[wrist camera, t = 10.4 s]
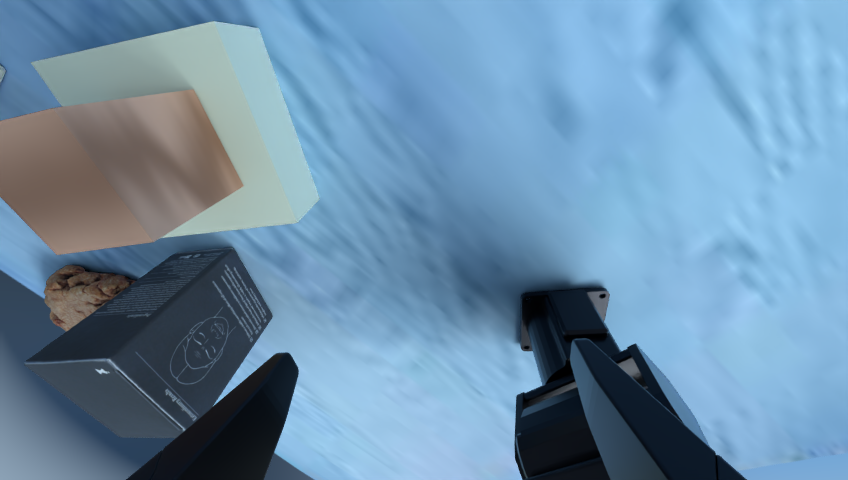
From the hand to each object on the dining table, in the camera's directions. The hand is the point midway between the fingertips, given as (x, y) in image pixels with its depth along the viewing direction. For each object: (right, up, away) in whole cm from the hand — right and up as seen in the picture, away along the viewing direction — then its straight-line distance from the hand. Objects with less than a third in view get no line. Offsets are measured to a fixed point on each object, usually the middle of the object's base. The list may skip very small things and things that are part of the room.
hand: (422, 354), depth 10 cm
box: (-17, 0, +17) cm, 24 cm away
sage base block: (-13, +10, +10) cm, 20 cm away
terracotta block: (-13, +8, +7) cm, 17 cm away
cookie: (-29, -2, +19) cm, 35 cm away
